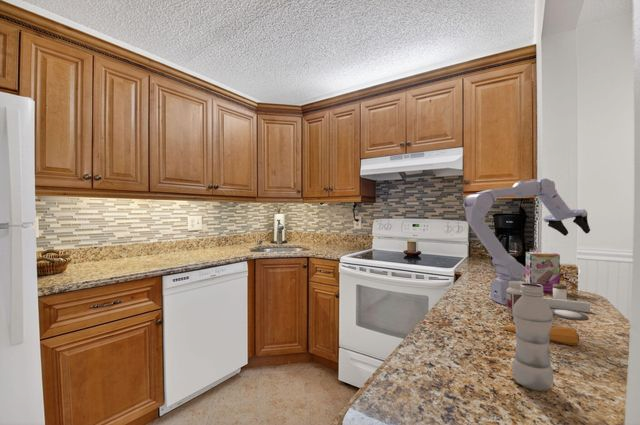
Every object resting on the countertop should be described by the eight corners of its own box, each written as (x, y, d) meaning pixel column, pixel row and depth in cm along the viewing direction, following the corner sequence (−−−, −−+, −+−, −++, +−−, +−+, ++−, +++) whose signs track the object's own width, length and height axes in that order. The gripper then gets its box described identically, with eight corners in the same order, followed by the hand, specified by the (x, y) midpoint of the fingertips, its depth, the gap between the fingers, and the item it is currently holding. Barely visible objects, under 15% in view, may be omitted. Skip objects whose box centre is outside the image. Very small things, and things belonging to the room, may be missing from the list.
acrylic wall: (590, 312, 99) (590, 303, 99) (539, 306, 106) (538, 297, 106) (589, 311, 99) (589, 302, 99) (538, 305, 106) (538, 297, 106)
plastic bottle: (504, 377, 61) (503, 281, 61) (535, 375, 61) (533, 280, 61) (529, 397, 54) (528, 290, 54) (563, 394, 55) (561, 288, 55)
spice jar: (559, 305, 106) (559, 286, 106) (550, 302, 110) (549, 284, 110) (569, 305, 106) (569, 286, 106) (559, 302, 110) (559, 283, 110)
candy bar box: (530, 291, 125) (530, 253, 125) (525, 288, 130) (524, 251, 130) (560, 292, 123) (560, 254, 123) (554, 289, 127) (553, 252, 127)
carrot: (580, 347, 76) (577, 329, 77) (580, 346, 72) (577, 327, 74) (492, 335, 88) (492, 320, 90) (489, 334, 85) (488, 318, 87)
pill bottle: (532, 316, 96) (532, 282, 96) (524, 319, 93) (523, 285, 93) (511, 310, 101) (511, 279, 101) (503, 314, 98) (502, 281, 98)
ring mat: (567, 320, 91) (567, 319, 91) (541, 310, 101) (541, 309, 101) (596, 319, 92) (596, 318, 92) (567, 309, 102) (567, 307, 102)
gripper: (581, 194, 106) (603, 224, 106) (542, 203, 120) (562, 229, 120) (572, 205, 104) (595, 235, 104) (533, 213, 118) (554, 239, 118)
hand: (577, 233), depth 112 cm, fingers open, 7 cm apart
